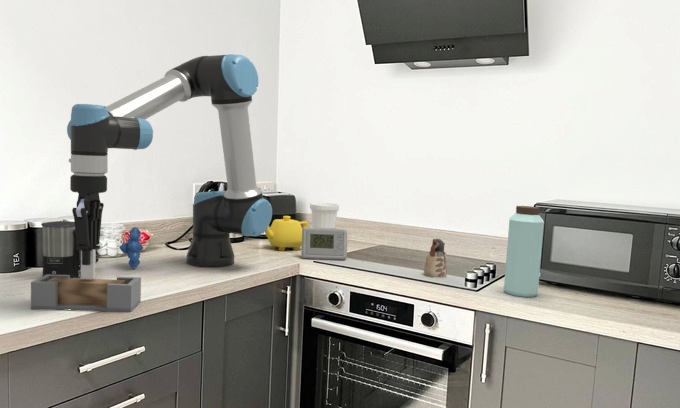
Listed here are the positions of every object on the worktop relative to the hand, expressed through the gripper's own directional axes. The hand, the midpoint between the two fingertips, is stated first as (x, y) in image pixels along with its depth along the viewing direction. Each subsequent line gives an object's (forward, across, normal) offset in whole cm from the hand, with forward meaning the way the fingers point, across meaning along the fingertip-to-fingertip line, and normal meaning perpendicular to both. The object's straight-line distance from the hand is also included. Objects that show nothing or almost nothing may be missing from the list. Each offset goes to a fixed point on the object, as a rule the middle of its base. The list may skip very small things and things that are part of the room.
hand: (88, 278), depth 129 cm
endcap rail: (+6, 0, 0) cm, 6 cm away
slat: (+6, 0, 0) cm, 6 cm away
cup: (+7, -106, +59) cm, 121 cm away
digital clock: (+7, -66, +57) cm, 88 cm away
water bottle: (+7, -24, +112) cm, 115 cm away
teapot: (+7, -82, +43) cm, 93 cm away
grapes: (+7, -42, -2) cm, 42 cm away
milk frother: (+7, -30, -15) cm, 35 cm away
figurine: (+7, -44, +92) cm, 102 cm away
